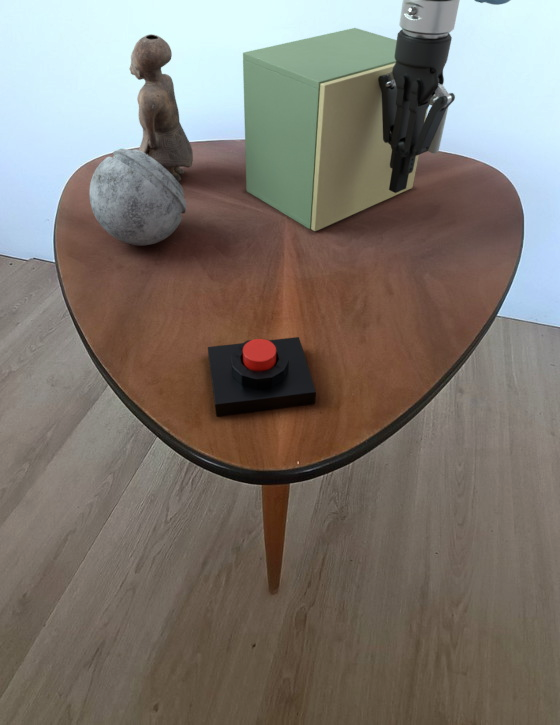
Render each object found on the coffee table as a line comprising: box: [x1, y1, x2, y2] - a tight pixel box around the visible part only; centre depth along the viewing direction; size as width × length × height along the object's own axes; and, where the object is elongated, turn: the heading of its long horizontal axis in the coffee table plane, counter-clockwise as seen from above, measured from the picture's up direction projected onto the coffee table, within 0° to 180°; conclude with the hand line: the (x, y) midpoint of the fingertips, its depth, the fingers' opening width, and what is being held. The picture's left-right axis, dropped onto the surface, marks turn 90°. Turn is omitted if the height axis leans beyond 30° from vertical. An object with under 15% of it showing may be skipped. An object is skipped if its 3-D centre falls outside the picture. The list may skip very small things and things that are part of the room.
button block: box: [207, 336, 317, 417], centre depth 68 cm, size 12×10×4 cm
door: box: [310, 63, 449, 232], centre depth 92 cm, size 7×26×24 cm, turn 130°
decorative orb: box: [88, 148, 188, 246], centre depth 88 cm, size 15×14×15 cm
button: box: [243, 338, 276, 372], centre depth 67 cm, size 4×4×2 cm
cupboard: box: [242, 27, 397, 230], centre depth 99 cm, size 18×26×24 cm
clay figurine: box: [128, 34, 194, 182], centre depth 101 cm, size 13×10×25 cm
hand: (397, 189), depth 94 cm, fingers closed
